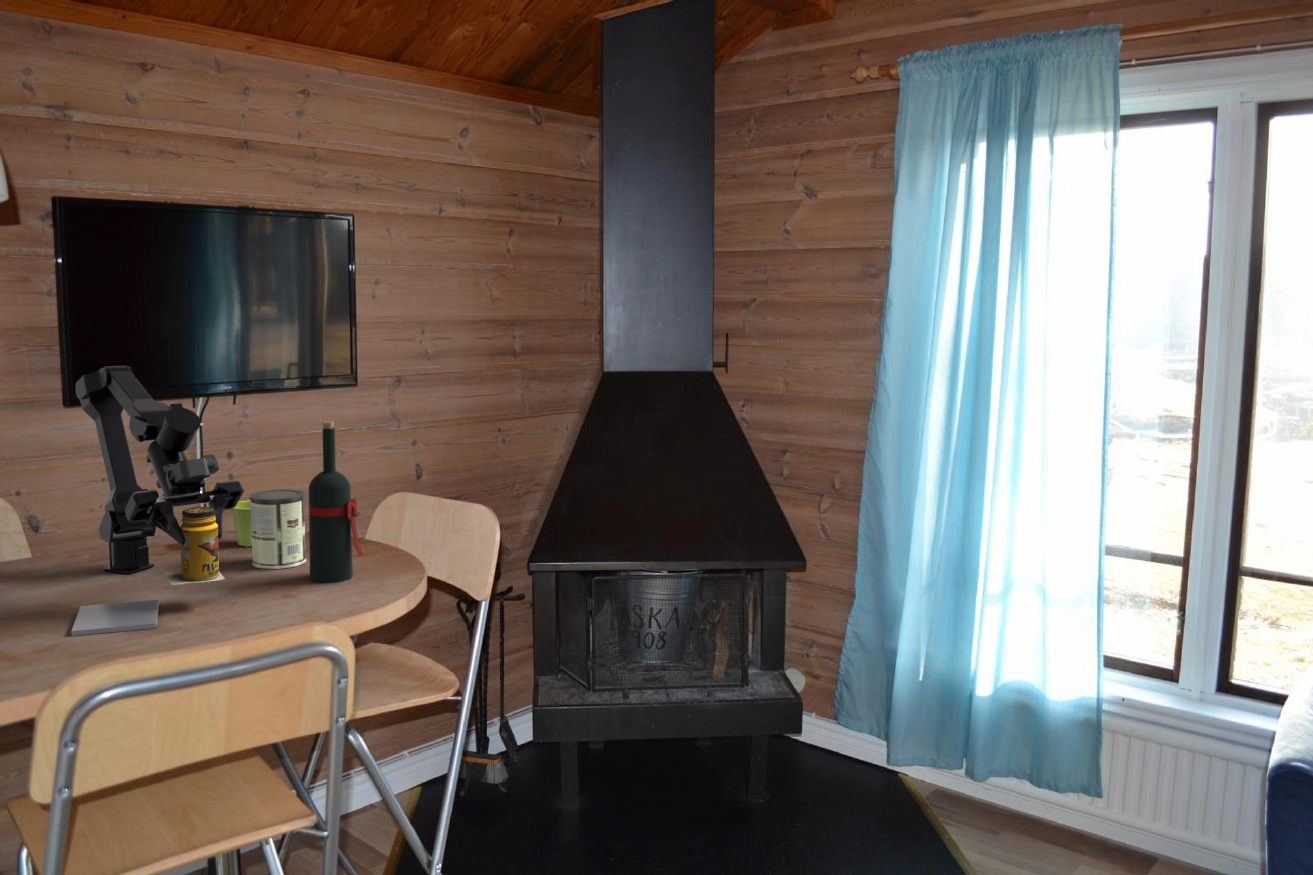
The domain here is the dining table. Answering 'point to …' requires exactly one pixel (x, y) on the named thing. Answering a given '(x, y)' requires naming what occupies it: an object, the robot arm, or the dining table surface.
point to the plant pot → (243, 523)
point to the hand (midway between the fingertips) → (201, 540)
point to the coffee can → (278, 528)
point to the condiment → (198, 548)
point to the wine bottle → (331, 518)
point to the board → (116, 617)
